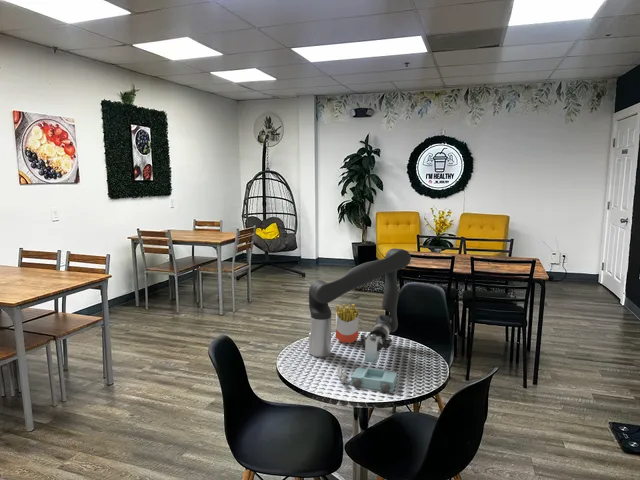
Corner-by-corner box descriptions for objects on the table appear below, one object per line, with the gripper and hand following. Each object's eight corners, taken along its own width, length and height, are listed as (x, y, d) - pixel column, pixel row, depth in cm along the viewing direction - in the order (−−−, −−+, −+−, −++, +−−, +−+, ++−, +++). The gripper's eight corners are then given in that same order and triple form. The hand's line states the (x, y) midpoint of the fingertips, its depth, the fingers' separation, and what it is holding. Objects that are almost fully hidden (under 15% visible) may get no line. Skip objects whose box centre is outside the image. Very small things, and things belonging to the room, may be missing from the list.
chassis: (350, 386, 165) (350, 377, 164) (358, 373, 177) (358, 364, 176) (391, 393, 160) (392, 384, 159) (397, 379, 171) (397, 370, 171)
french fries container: (358, 343, 209) (359, 306, 207) (335, 342, 210) (336, 306, 207) (357, 339, 214) (358, 304, 211) (335, 339, 214) (336, 303, 212)
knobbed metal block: (364, 361, 177) (365, 336, 175) (367, 356, 182) (369, 331, 181) (376, 363, 175) (377, 338, 174) (379, 357, 181) (380, 333, 179)
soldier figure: (352, 376, 176) (357, 380, 164) (343, 385, 175) (348, 390, 163) (338, 362, 177) (342, 365, 165) (330, 371, 176) (333, 374, 164)
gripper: (364, 323, 193) (354, 336, 177) (396, 328, 188) (389, 341, 172) (363, 340, 194) (353, 354, 178) (395, 344, 189) (388, 359, 173)
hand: (371, 347), depth 175 cm, fingers closed on knobbed metal block, 4 cm apart
